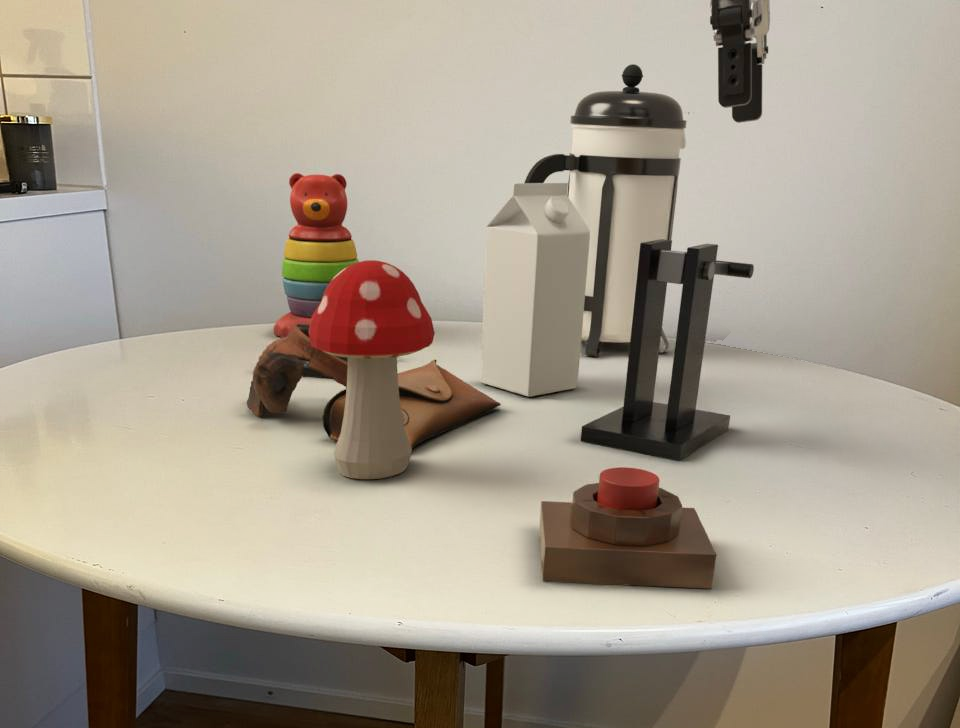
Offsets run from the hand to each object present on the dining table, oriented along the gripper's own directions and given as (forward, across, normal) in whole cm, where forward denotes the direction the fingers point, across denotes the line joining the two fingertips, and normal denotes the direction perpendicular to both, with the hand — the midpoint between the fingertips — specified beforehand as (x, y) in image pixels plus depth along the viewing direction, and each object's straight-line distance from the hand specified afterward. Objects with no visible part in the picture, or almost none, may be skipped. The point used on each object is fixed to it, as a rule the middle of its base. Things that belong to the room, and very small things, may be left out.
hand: (741, 113), depth 75 cm
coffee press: (+18, +40, +21) cm, 49 cm away
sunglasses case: (+22, -2, +28) cm, 35 cm away
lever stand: (+24, +5, +8) cm, 26 cm away
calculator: (+17, +15, +45) cm, 51 cm away
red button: (+24, -25, +4) cm, 35 cm away
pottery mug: (+20, -4, +38) cm, 43 cm away
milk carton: (+20, +16, +23) cm, 35 cm away
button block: (+27, -25, +5) cm, 37 cm away
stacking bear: (+14, +31, +53) cm, 63 cm away
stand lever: (+12, +9, +5) cm, 15 cm away
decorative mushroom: (+23, -15, +26) cm, 38 cm away
